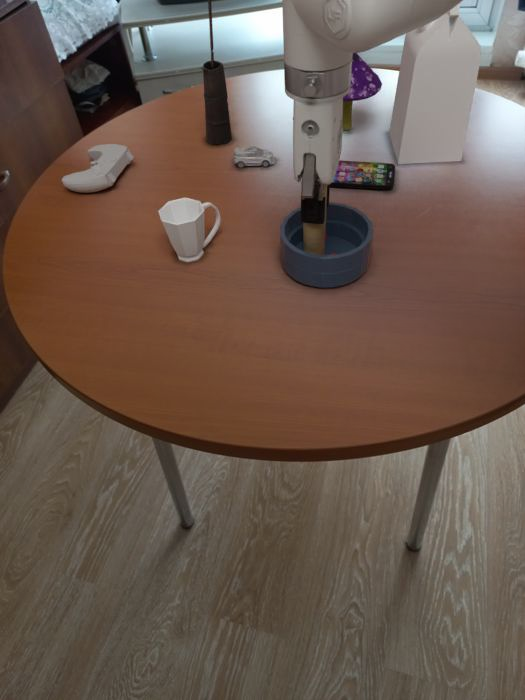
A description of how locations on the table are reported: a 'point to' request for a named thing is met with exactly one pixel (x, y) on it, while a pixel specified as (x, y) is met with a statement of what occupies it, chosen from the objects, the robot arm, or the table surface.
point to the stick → (315, 232)
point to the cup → (187, 226)
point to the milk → (435, 91)
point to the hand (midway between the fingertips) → (315, 212)
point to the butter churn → (215, 97)
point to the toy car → (253, 157)
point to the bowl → (328, 247)
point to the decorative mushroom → (359, 88)
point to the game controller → (100, 169)
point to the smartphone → (364, 175)
